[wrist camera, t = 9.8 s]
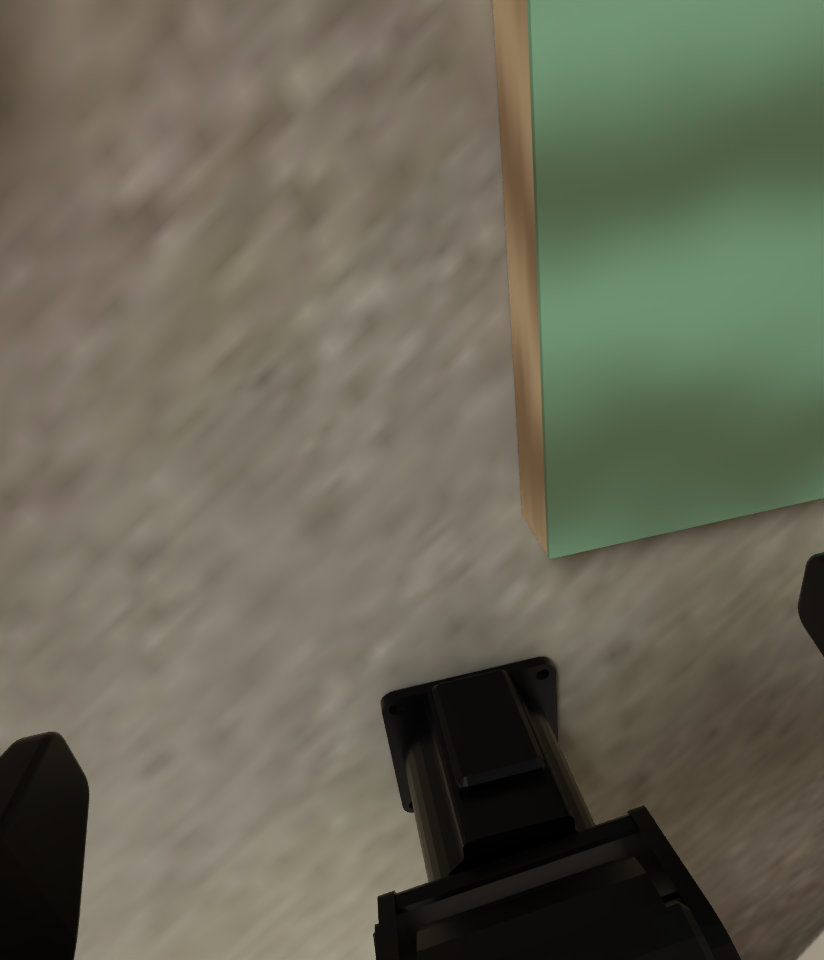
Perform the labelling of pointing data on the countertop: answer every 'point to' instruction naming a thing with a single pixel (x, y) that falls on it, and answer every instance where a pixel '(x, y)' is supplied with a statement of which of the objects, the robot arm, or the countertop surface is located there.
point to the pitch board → (663, 260)
